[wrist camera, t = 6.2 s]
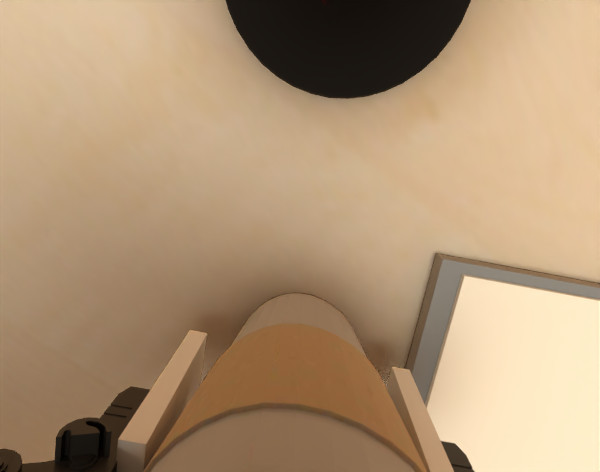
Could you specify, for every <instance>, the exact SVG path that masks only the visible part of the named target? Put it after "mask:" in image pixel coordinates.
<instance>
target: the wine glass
mask: <svg viewBox="0 0 600 472" xmlns="http://www.w3.org/2000/svg"><path fill="white" fill-rule="evenodd" d="M470 1H471V0H226V3H227V6H228V10H229V12H230V14H231V17H232V19H233V21H234V24H235V26H236V28H237V30H238V32H239V33H240V35H241V37H242V38H243V40H244V41H245V43H246V45H247V46H248V48H249V49H250V50H251V51H252V53H253V54H254V55H255V56H256V57H257V58H258V60H259V61H260V62H261V63H262V64H263V65H264V66H265V67H266V68H268V69H269V70H270V71H271V72H272V73H274V74H275V75H276V76H277V77H279V78H280V79H282V80H284V81H285V82H287V83H289V84H290V85H292V86H294V87H296V88H299V89H301V90H304V91H306V92H309V93H311V94H315V95H320V96H324V97H328V98H357V97H365V96H370V95H373V94H377V93H380V92H384V91H386V90H389V89H391V88H393V87H395V86H397V85H400V84H402V83H404V82H405V81H407V80H408V79H410V78H411V77H413V76H414V75H416V74H417V73H419V72H420V71H422V70H423V69H424V68H425V67H426V66H427V65H428V64H429V63H430V62H432V61H433V60H434V59H435V58H436V57H437V56H438V55H439V53H440V52H441V51H442V50H443V49H444V47H445V46H446V45H447V44H448V42H449V41H450V40H451V38H452V37H453V35H454V33H455V32H456V30H457V28H458V27H459V25H460V24H461V22H462V20H463V17H464V15H465V13H466V10H467V8H468V6H469V3H470Z"/></svg>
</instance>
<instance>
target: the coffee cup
mask: <svg viewBox="0 0 600 472" xmlns="http://www.w3.org/2000/svg"><path fill="white" fill-rule="evenodd" d="M143 472H427V470H426V468H425V466H424V464H423V462H422V460H421V458H420V456H419V453H418V451H417V449H416V447H415V445H414V443H413V441H412V439H411V437H410V435H409V433H408V431H407V429H406V427H405V425H404V423H403V421H402V419H401V417H400V415H399V413H398V411H397V409H396V407H395V405H394V403H393V401H392V399H391V397H390V395H389V393H388V391H387V389H386V387H385V385H384V383H383V381H382V379H381V377H380V375H379V373H378V371H377V370H376V369H375V368H374V366H373V365H372V364H371V362H370V361H369V360H368V359H367V357H366V355H365V353H364V350H363V348H362V346H361V344H360V342H359V340H358V338H357V336H356V334H355V332H354V330H353V328H352V326H351V324H350V323H349V322H348V320H347V319H346V318H345V316H344V315H343V314H342V313H341V312H340V311H338V310H337V309H336V308H335V307H334V306H332V305H331V304H329V303H328V302H326V301H324V300H322V299H320V298H317V297H315V296H312V295H307V294H303V293H289V294H284V295H280V296H277V297H275V298H273V299H271V300H268V301H267V302H266V303H264V304H263V305H261V306H260V307H259V308H258V309H257V310H256V311H255V312H254V313H253V314H252V315H251V316H250V317H249V319H248V320H247V322H246V323H245V324H244V326H243V328H242V329H241V331H240V332H239V334H238V335H237V337H236V338H235V340H234V341H233V343H232V344H231V346H230V347H229V348H228V349H227V350H226V351H225V352H224V353H223V354H222V355H221V356H220V357H219V358H218V360H217V361H216V363H215V364H214V366H213V367H212V369H211V370H210V371H209V373H208V374H207V376H206V377H205V379H204V380H203V382H202V383H201V385H200V387H199V388H198V390H197V391H196V393H195V394H194V396H193V397H192V399H191V400H190V402H189V403H188V405H187V406H186V408H185V409H184V411H183V412H182V414H181V415H180V417H179V418H178V420H177V421H176V423H175V424H174V426H173V427H172V429H171V430H170V432H169V433H168V435H167V436H166V438H165V440H164V441H163V443H162V444H161V446H160V447H159V449H158V450H157V452H156V453H155V455H154V456H153V458H152V459H151V461H150V462H149V464H148V465H147V467H146V468H145V470H144V471H143Z"/></svg>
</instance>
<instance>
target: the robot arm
mask: <svg viewBox="0 0 600 472" xmlns="http://www.w3.org/2000/svg"><path fill="white" fill-rule="evenodd" d="M206 340H207V333H204V332H199V331H193V330H190V331H189V332H188V334H187V335H186V337H185V338H184V340H183V341H182V343H181V344H180V346H179V347H178V349H177V350H176V352H175V353H174V355H173V356H172V358H171V359H170V361H169V363H168V364H167V366H166V367H165V369H164V370H163V372H162V373H161V375H160V376H159V378H158V379H157V381H156V382H155V384H154V385H153V387H152V388H151V390H148V389H143V388H137V387H130V388H128V389H126V390H125V391H123V392H121V393H120V394H118V396H117V397H116V398H115V400H114V401H113V402H112V403H111V406H109V407H108V409H107V410H106V411H105V412H104V415H102V416H101V418H100V419H99V418H83V419H78V420H75V421H73V422H71V423H69V424H67V425H66V426H64V427H63V428H62V429H61V430H60V431H59V433H58V435H57V437H56V450H55V460H53V461H48V462H41V463H29V464H22V460H21V456H20V455H19V454H18V453H17V452H15V451H13V450H8V449H0V472H143V471H144V470H145V468H146V467H147V465H148V464H149V462H150V461H151V459H152V458H153V456H154V455H155V453H156V452H157V450H158V449H159V447H160V446H161V444H162V443H163V441H164V440H165V438H166V436H167V435H168V433H169V432H170V430H171V429H172V427H173V426H174V424H175V423H176V421H177V420H178V418H179V417H180V415H181V414H182V412H183V411H184V409H185V408H186V406H187V405H188V403H189V402H190V400H191V399H192V397H193V396H194V394H195V393H196V391H197V390H198V388H199V387H200V382H201V375H202V368H203V361H204V354H205V347H206ZM386 389H387V391H388V393H389V395H390V397H391V399H392V401H393V403H394V405H395V407H396V409H397V411H398V413H399V415H400V417H401V419H402V421H403V423H404V425H405V427H406V429H407V431H408V433H409V435H410V437H411V439H412V441H413V443H414V445H415V447H416V449H417V451H418V453H419V456H420V458H421V460H422V462H423V464H424V466H425V468H426V470H427V472H474V470H472V466H471V464H470V462H469V460H468V458H467V456H466V454H465V453H464V452H463V451H462V450H461V449H460V448H459V447H458V446H457V445H456V444H455V443H450V442H444V441H440V438H439V436H438V434H437V432H436V429H435V427H434V425H433V422H432V420H431V418H430V416H429V413H428V411H427V409H426V406H425V404H424V402H423V400H422V397H421V395H420V393H419V390H418V388H417V386H416V384H415V381H414V379H413V377H412V374H411V372H410V370H408V369H403V368H397V367H392V369H391V373H390V377H389V380H388V384H387V388H386Z"/></svg>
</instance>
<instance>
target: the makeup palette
mask: <svg viewBox="0 0 600 472" xmlns="http://www.w3.org/2000/svg"><path fill="white" fill-rule="evenodd" d="M405 369H408V370H410V372H411V374H412V377H413V379H414V381H415V384H416V386H417V388H418V390H419V393H420V395H421V397H422V400H423V402H424V404H425V406H426V409H427V411H428V413H429V416H430V418H431V420H432V422H433V425H434V427H435V429H436V432H437V434H438V436H439V438H440V441H444V442H450V443H455V444H456V445H457V446H458V447H459V448H460V449H461V450H462V451H463V452H464V453H465V454H466V456H467V458H468V460H469V462H470V464H471V466H472V470H474V472H600V284H599V283H594V282H588V281H583V280H578V279H572V278H567V277H561V276H556V275H551V274H545V273H540V272H535V271H529V270H524V269H518V268H513V267H508V266H502V265H497V264H491V263H486V262H481V261H475V260H470V259H464V258H459V257H454V256H448V255H443V254H437V253H436V256H435V260H434V263H433V267H432V271H431V275H430V278H429V282H428V286H427V290H426V293H425V297H424V301H423V304H422V308H421V312H420V316H419V319H418V323H417V327H416V331H415V334H414V338H413V342H412V346H411V349H410V353H409V357H408V361H407V364H406V368H405Z"/></svg>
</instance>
